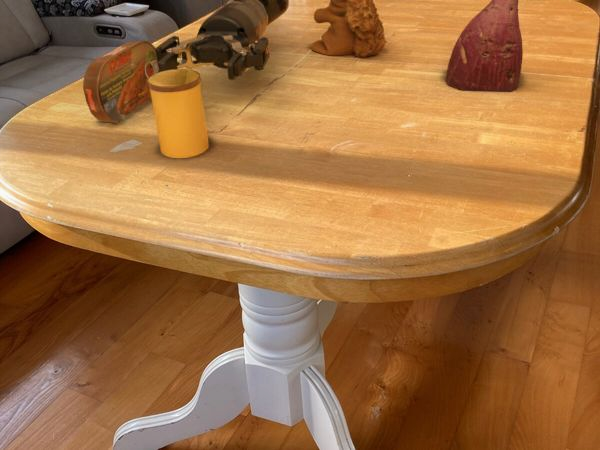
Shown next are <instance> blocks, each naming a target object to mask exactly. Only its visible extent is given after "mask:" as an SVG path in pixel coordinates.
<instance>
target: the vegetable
mask: <svg viewBox="0 0 600 450" xmlns="http://www.w3.org/2000/svg"><path fill="white" fill-rule="evenodd" d="M522 38H523V37H522V32H521V28H520V19H519V0H491V1H489V3H488V4H487V5H486V6H485V7H484V8H483V9H481V11H480V12H478V13H477V14H475V16H474V17H473V18H471V20H469V22H468V23H467V25H466V26H465V27H464V28H463V30H462V31H461V33H460V34H459V36H458V38H457V40H456V42H455V44H454V46H453V48H452V51H451V54H450V57H449V61H448V65H447V69H446V70H447V71H446V77H445V84H447V86H449V87H451V88H453V89H456V90H459V91H462V92H486V93H487V92H490V93H493V92H494V93H512V92H515V91H516V90H517V89H518V87H519V83H520V79H521V73H522V65H523V58H524V57H523V56H524V55H523V54H524V49H523V39H522Z"/></svg>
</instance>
